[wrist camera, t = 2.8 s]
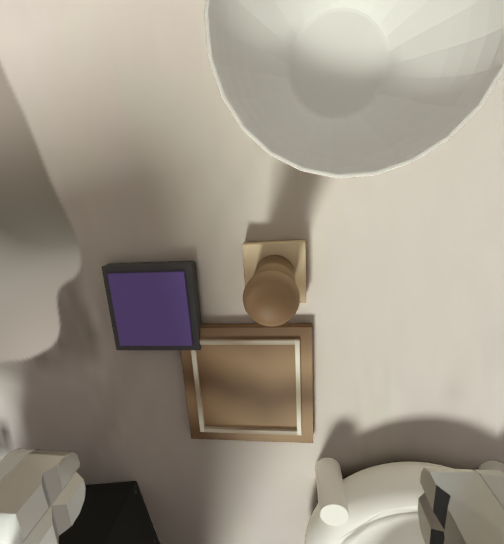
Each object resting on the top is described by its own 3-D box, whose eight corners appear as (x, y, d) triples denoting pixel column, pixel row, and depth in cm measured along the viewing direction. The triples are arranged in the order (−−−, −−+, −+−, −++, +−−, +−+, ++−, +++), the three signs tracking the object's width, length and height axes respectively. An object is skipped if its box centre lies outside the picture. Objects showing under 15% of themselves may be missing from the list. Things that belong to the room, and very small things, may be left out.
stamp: (244, 241, 27) (224, 267, 18) (304, 239, 26) (313, 264, 17) (248, 297, 28) (230, 347, 19) (305, 296, 27) (313, 347, 19)
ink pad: (109, 263, 28) (99, 267, 27) (194, 260, 28) (189, 264, 26) (123, 343, 30) (115, 351, 29) (203, 343, 30) (199, 352, 28)
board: (180, 324, 29) (176, 329, 28) (311, 323, 28) (312, 328, 27) (193, 432, 32) (190, 440, 31) (312, 436, 31) (313, 445, 30)
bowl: (461, 156, 23) (532, 143, 17) (251, 199, 26) (238, 203, 19) (449, -110, 20) (535, -266, 13) (205, -30, 22) (169, -126, 15)
